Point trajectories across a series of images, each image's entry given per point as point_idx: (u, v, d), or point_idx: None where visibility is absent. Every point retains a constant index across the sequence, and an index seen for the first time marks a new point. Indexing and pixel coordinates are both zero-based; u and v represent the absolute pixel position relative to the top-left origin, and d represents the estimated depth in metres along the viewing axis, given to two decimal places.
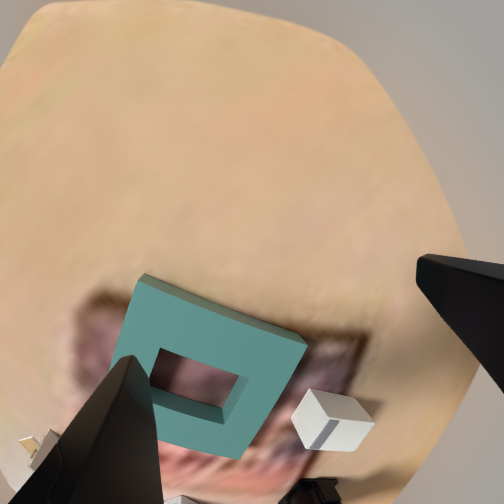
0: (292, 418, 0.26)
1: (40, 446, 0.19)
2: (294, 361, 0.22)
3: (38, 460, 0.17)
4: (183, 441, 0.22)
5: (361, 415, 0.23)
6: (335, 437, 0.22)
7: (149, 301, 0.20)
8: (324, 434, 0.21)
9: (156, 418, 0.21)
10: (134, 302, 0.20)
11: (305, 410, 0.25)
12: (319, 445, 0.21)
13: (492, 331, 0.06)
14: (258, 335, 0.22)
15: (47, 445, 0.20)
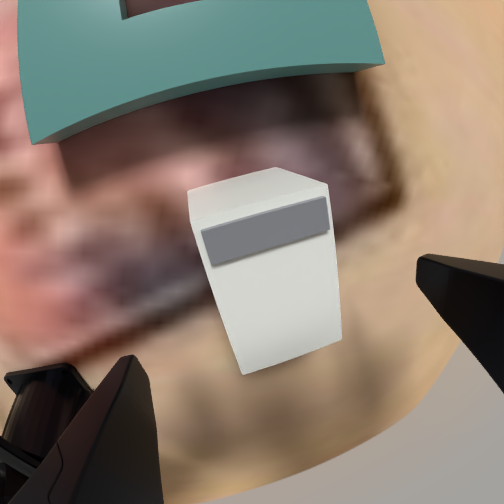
0: (191, 190, 0.12)
1: None
2: (351, 53, 0.09)
3: None
4: (34, 7, 0.05)
5: None
6: (272, 277, 0.09)
7: None
8: (275, 221, 0.08)
9: None
10: None
11: (242, 181, 0.11)
12: (227, 253, 0.08)
13: (492, 331, 0.06)
14: None
15: None
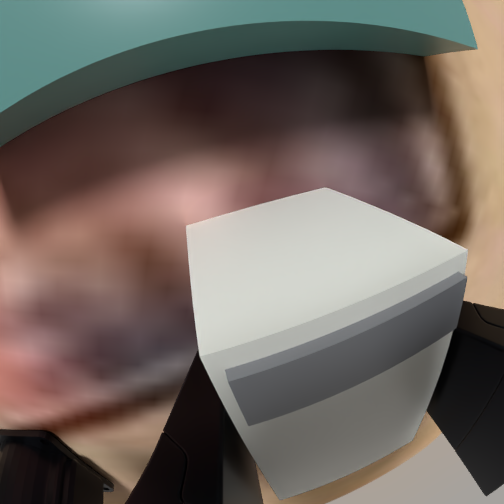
0: (193, 228, 0.07)
1: None
2: (443, 25, 0.04)
3: None
4: None
5: None
6: (351, 411, 0.04)
7: None
8: (387, 337, 0.03)
9: None
10: None
11: (283, 217, 0.06)
12: (283, 406, 0.03)
13: None
14: None
15: None
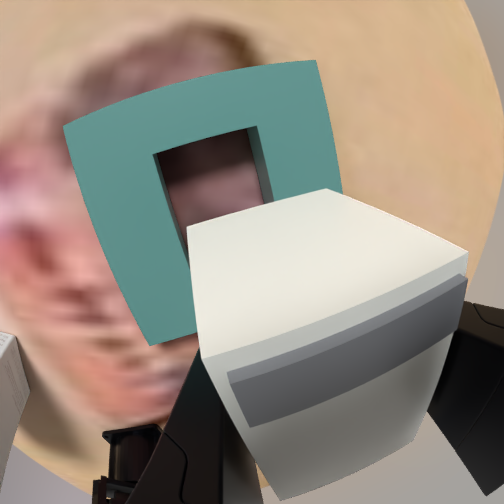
0: (194, 229, 0.07)
1: None
2: None
3: None
4: (122, 261, 0.15)
5: None
6: (352, 412, 0.04)
7: (303, 82, 0.14)
8: (387, 339, 0.03)
9: (133, 196, 0.14)
10: (289, 67, 0.13)
11: (284, 219, 0.06)
12: (284, 408, 0.03)
13: None
14: None
15: None
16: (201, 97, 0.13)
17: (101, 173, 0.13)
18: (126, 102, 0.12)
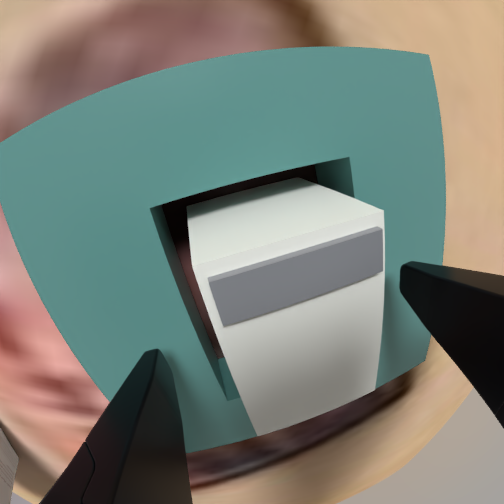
0: (192, 206, 0.09)
1: None
2: (402, 369, 0.12)
3: None
4: (112, 376, 0.08)
5: None
6: (303, 334, 0.06)
7: (416, 88, 0.07)
8: (316, 264, 0.05)
9: (118, 286, 0.07)
10: (397, 58, 0.07)
11: (258, 197, 0.09)
12: (246, 310, 0.05)
13: (477, 344, 0.05)
14: None
15: None
16: (250, 93, 0.06)
17: (56, 242, 0.06)
18: (95, 100, 0.06)
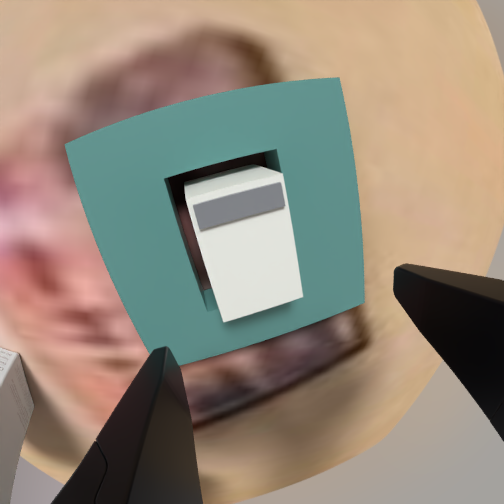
0: (187, 182, 0.15)
1: None
2: (343, 306, 0.18)
3: None
4: (131, 289, 0.14)
5: None
6: (243, 240, 0.12)
7: (326, 102, 0.13)
8: (244, 199, 0.11)
9: (143, 223, 0.13)
10: (312, 84, 0.13)
11: (225, 174, 0.14)
12: (210, 221, 0.11)
13: (471, 348, 0.05)
14: (355, 248, 0.17)
15: None
16: (217, 116, 0.12)
17: (108, 197, 0.12)
18: (134, 120, 0.11)
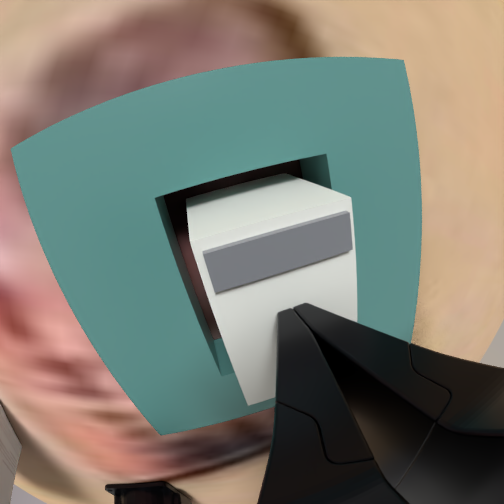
0: (191, 199, 0.11)
1: None
2: None
3: None
4: (116, 351, 0.10)
5: None
6: (284, 303, 0.08)
7: (390, 91, 0.08)
8: (291, 241, 0.07)
9: (126, 266, 0.09)
10: (372, 65, 0.08)
11: (248, 190, 0.10)
12: (234, 279, 0.07)
13: (361, 418, 0.05)
14: (411, 285, 0.12)
15: None
16: (239, 100, 0.08)
17: (72, 227, 0.08)
18: (108, 106, 0.07)
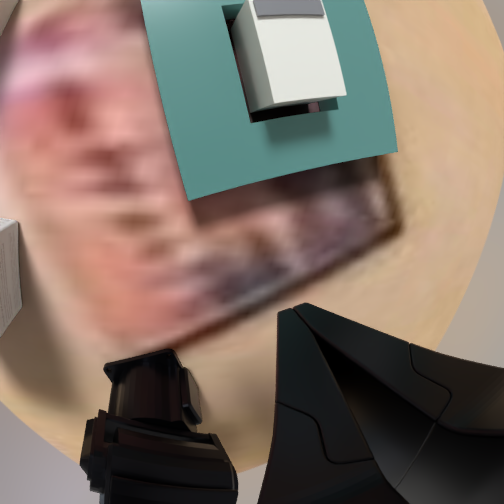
0: None
1: None
2: (378, 148, 0.17)
3: None
4: (176, 92, 0.13)
5: None
6: (293, 32, 0.11)
7: None
8: (293, 3, 0.10)
9: (199, 34, 0.12)
10: None
11: None
12: (267, 11, 0.10)
13: (361, 417, 0.05)
14: (382, 91, 0.15)
15: None
16: None
17: (170, 15, 0.11)
18: None
